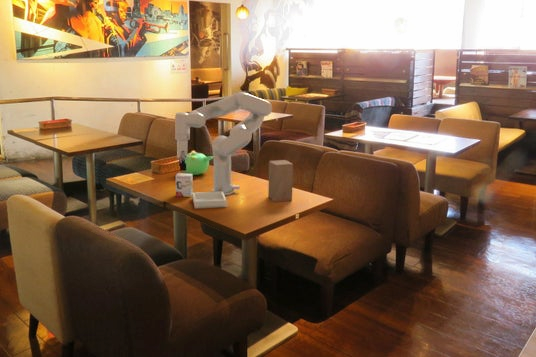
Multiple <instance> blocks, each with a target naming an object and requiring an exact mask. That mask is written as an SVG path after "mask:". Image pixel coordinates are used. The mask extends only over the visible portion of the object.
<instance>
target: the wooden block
mask: <svg viewBox="0 0 536 357" xmlns="http://www.w3.org/2000/svg"><path fill="white" fill-rule="evenodd" d="M293 175H294V164H293V163H292V162H290V161H289V160H288V159H287V160H286V159H278V160H277V159H276V160H269V161H268V192H267V193H268V198H270V199H271V200H272V201H273V202H274V203H276V202H287V201H292V200H293V183H294V179H293V178H294V176H293Z"/></svg>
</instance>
